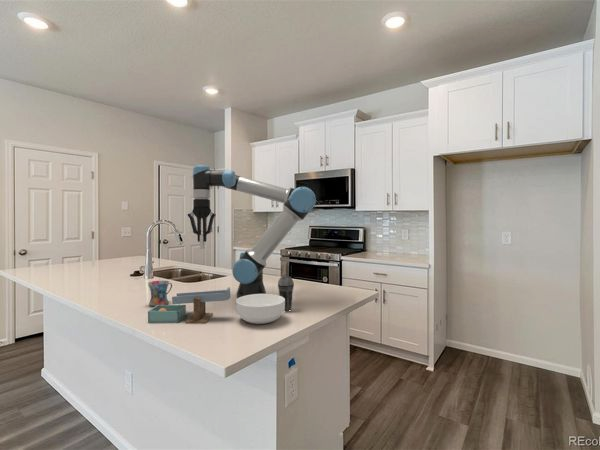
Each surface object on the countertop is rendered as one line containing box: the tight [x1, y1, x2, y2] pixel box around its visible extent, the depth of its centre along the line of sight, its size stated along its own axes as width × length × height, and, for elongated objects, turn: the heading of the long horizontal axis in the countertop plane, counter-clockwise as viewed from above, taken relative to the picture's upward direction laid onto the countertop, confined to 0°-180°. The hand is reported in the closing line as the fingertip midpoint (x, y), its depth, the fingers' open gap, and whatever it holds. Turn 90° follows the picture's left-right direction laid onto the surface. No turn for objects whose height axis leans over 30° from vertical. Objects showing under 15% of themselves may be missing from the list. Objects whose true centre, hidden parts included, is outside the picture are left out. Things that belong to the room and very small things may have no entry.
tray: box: [147, 304, 187, 324], centre depth 134 cm, size 12×9×4 cm
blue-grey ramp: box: [171, 286, 231, 305], centre depth 137 cm, size 22×13×4 cm, turn 92°
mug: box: [147, 280, 173, 307], centre depth 155 cm, size 12×9×11 cm
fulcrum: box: [185, 298, 214, 324], centre depth 134 cm, size 8×11×10 cm
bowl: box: [235, 293, 285, 325], centre depth 133 cm, size 20×20×8 cm
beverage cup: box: [277, 265, 295, 312], centre depth 146 cm, size 7×7×20 cm
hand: (202, 248), depth 156 cm, fingers closed
